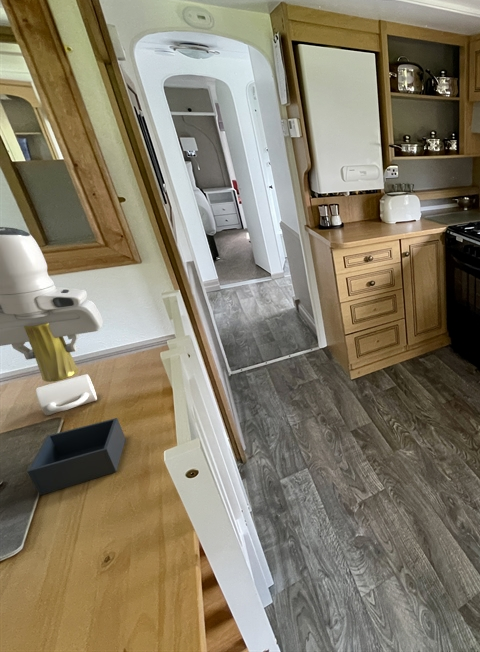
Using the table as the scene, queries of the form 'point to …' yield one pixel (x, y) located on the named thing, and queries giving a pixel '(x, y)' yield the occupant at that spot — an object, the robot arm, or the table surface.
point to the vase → (50, 354)
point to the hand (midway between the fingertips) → (53, 354)
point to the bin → (77, 456)
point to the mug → (66, 394)
